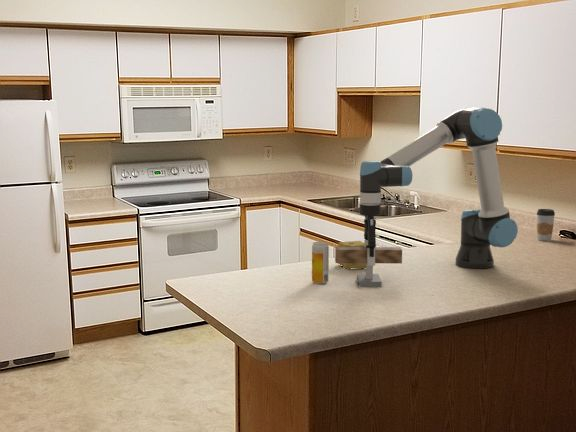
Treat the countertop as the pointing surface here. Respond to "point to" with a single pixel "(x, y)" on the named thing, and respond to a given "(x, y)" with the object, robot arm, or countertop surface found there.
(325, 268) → the beer can
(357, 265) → the cheese
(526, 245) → the countertop surface
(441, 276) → the countertop surface
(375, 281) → the fulcrum
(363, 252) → the walnut bar
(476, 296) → the countertop surface
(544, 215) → the coffee cup
